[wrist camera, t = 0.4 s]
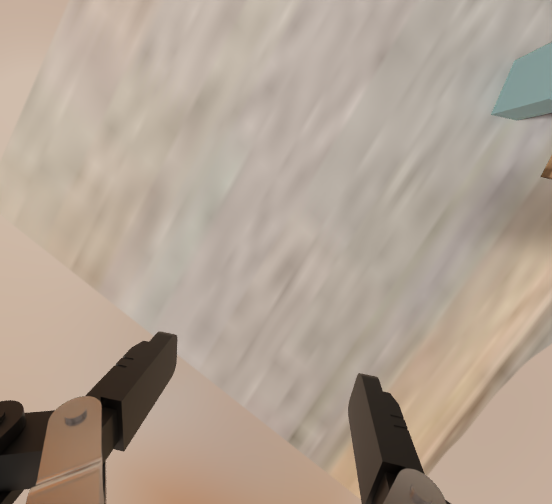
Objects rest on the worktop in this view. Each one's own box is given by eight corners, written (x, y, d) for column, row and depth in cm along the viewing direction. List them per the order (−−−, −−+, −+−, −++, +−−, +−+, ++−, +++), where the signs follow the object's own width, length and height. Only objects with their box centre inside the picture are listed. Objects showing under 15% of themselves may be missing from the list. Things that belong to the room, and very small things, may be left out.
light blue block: (514, 60, 30) (584, 25, 22) (541, 66, 30) (621, 33, 22) (491, 114, 32) (548, 98, 24) (516, 120, 32) (582, 106, 24)
